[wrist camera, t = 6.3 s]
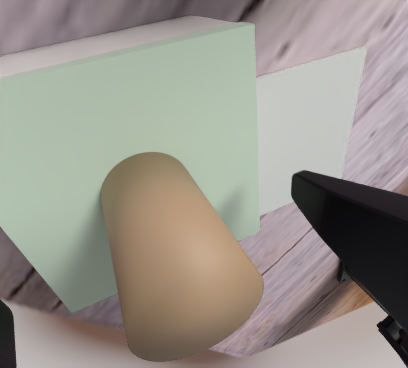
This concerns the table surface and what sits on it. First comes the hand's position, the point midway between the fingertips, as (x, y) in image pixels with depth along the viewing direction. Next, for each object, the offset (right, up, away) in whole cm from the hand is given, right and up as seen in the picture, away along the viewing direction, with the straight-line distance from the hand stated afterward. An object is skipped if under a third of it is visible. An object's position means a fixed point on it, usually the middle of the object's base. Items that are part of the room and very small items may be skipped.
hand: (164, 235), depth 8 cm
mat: (+7, +4, +11) cm, 13 cm away
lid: (-1, +2, +2) cm, 3 cm away
